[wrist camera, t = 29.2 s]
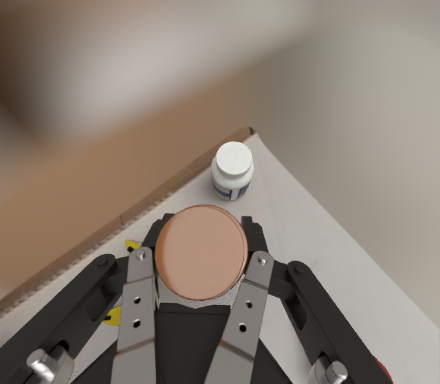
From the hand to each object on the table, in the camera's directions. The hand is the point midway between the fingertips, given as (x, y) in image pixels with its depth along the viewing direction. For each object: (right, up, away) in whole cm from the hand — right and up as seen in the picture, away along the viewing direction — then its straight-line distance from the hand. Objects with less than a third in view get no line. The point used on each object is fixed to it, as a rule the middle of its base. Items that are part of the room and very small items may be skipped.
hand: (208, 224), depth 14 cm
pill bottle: (+3, +4, +15) cm, 15 cm away
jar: (0, -3, +4) cm, 5 cm away
